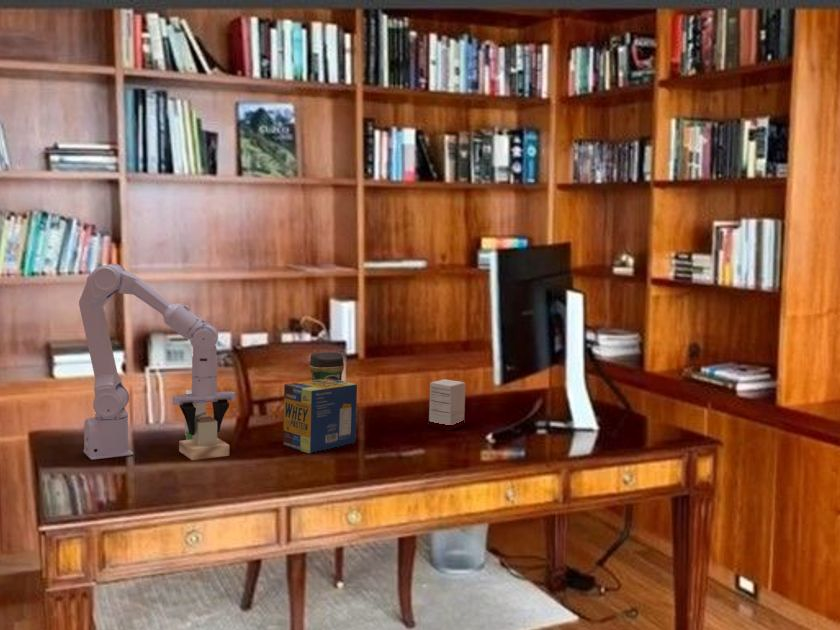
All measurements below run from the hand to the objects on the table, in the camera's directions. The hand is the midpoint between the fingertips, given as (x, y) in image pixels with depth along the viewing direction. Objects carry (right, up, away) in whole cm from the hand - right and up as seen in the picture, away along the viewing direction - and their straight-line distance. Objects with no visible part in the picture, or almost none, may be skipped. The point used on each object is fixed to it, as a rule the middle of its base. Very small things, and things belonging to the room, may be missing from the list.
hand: (204, 432), depth 204 cm
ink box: (-6, -4, +15) cm, 16 cm away
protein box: (+26, -5, +12) cm, 29 cm away
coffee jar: (+24, -2, +44) cm, 50 cm away
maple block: (0, -5, +1) cm, 5 cm away
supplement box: (+58, -3, +35) cm, 68 cm away
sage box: (0, -2, 0) cm, 2 cm away
